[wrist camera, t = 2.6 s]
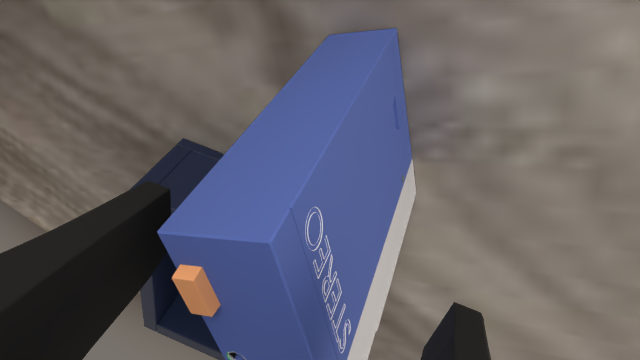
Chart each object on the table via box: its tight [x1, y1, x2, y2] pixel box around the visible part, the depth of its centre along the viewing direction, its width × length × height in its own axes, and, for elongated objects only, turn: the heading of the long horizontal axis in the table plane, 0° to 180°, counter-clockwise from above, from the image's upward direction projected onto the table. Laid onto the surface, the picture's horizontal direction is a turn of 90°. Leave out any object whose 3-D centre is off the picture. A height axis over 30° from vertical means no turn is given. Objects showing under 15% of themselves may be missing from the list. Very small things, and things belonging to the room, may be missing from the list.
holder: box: [130, 139, 225, 360], centre depth 26 cm, size 7×12×5 cm, turn 169°
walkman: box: [157, 28, 416, 360], centre depth 16 cm, size 8×3×12 cm, turn 13°
